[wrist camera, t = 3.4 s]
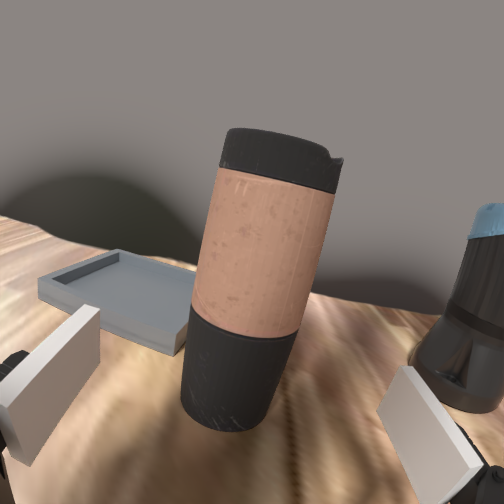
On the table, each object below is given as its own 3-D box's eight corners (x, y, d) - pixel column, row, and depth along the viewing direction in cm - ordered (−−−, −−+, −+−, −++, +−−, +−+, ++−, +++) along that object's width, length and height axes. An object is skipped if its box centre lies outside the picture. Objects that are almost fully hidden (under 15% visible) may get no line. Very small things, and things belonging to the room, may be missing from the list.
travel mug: (179, 368, 27) (224, 135, 22) (262, 379, 28) (321, 159, 23) (173, 428, 19) (229, 120, 15) (276, 437, 21) (366, 158, 16)
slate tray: (220, 296, 46) (224, 280, 45) (173, 356, 28) (176, 334, 28) (115, 263, 48) (117, 248, 47) (38, 298, 30) (37, 278, 30)
